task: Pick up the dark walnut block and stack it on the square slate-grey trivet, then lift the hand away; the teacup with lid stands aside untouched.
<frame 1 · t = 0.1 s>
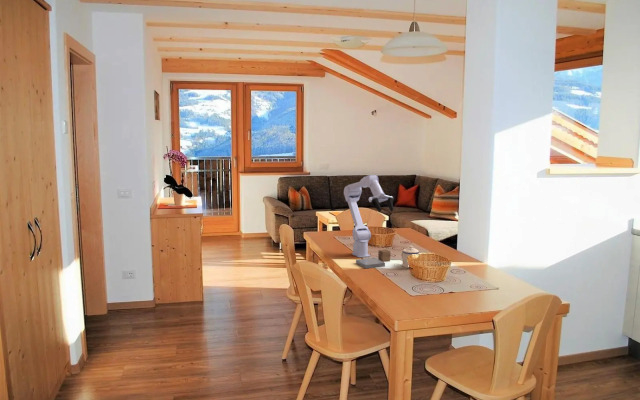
hand: (386, 210, 268), 32 cm above the table, tool tilted 50°, fingers open, 7 cm apart
teacup with lid: (408, 266, 276), on the table
walnut block: (384, 260, 287), on the table
slate trivet: (370, 264, 278), on the table
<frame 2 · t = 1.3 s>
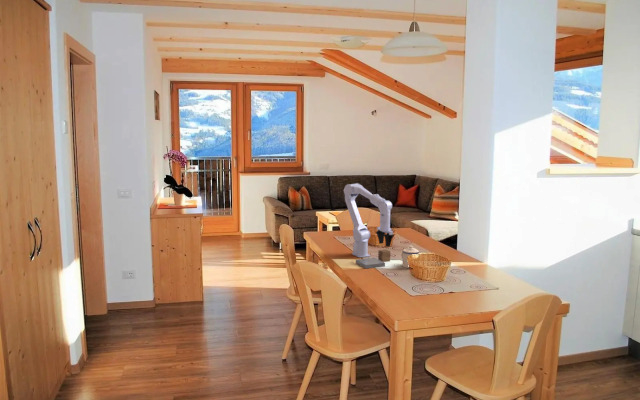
hand: (384, 244, 286), 9 cm above the table, tool pointing down, fingers open, 7 cm apart
nothing on the table moved.
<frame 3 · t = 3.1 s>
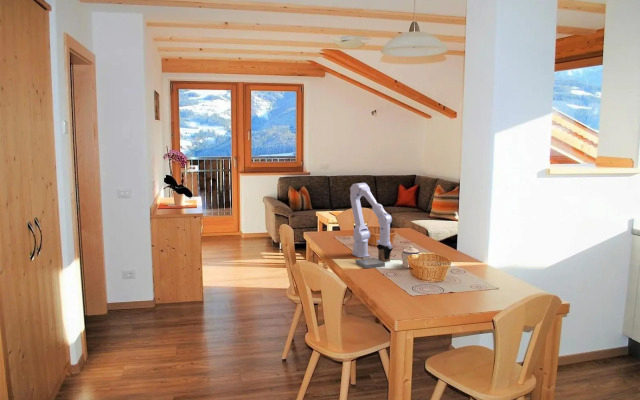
hand: (384, 258, 287), 1 cm above the table, tool pointing down, fingers closed on walnut block, 5 cm apart
walnut block: (384, 260, 287), on the table, touching gripper
everything else where it was.
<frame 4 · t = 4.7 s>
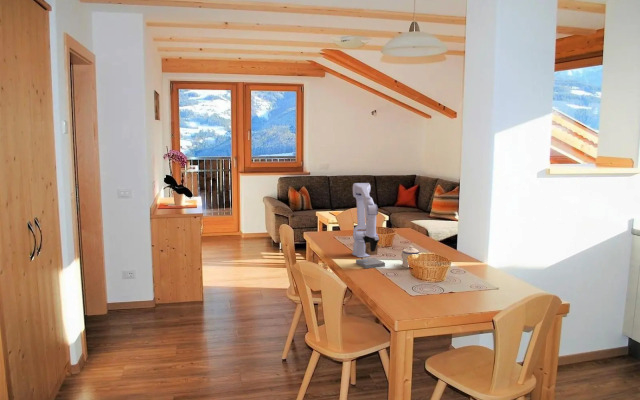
hand: (370, 250, 277), 8 cm above the table, tool pointing down, fingers closed on walnut block, 5 cm apart
walnut block: (371, 253, 277), point 6 cm above the table, touching gripper
everything else where it was.
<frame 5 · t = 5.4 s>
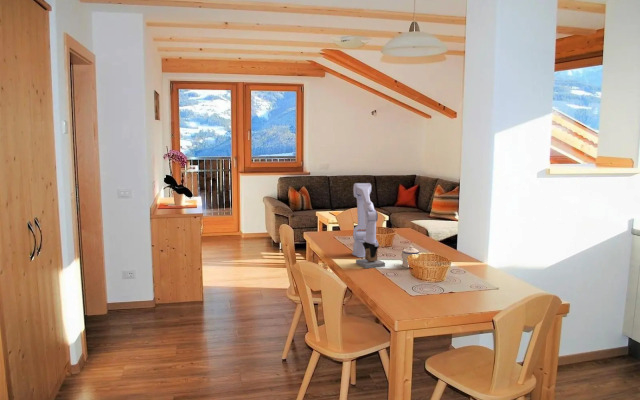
hand: (370, 256, 277), 5 cm above the table, tool pointing down, fingers closed on walnut block, 5 cm apart
walnut block: (371, 259, 278), point 3 cm above the table, touching gripper
everything else where it was.
when the fingers open (5 cm above the table, at t = 6.2 s): walnut block stays where it is, resting on slate trivet.
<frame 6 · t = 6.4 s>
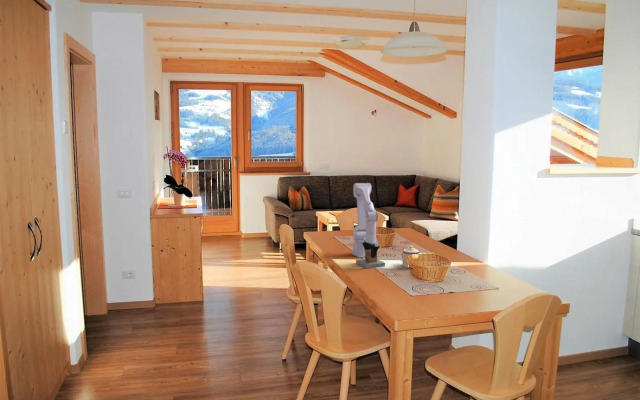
hand: (370, 256, 277), 5 cm above the table, tool pointing down, fingers open, 6 cm apart
walnut block: (371, 261, 278), point 2 cm above the table, touching slate trivet
everything else where it was.
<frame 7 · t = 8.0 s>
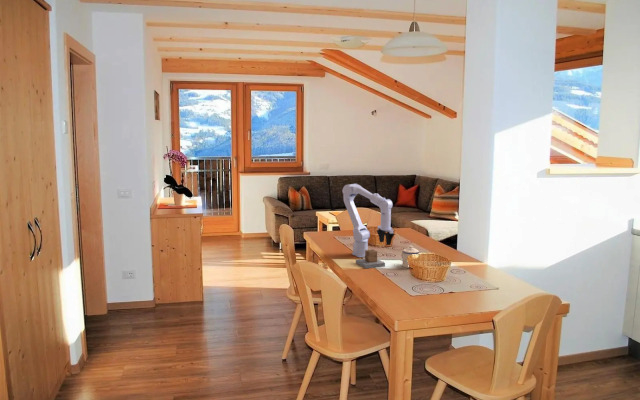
hand: (385, 243, 287), 10 cm above the table, tool pointing down, fingers open, 7 cm apart
nothing on the table moved.
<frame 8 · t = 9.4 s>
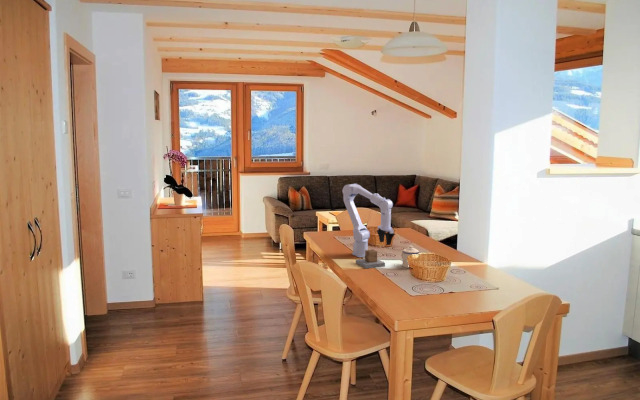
hand: (385, 243, 287), 10 cm above the table, tool pointing down, fingers open, 7 cm apart
nothing on the table moved.
at the end: walnut block inside the target area on the slate trivet (0.5 cm from its centre), point 2.0 cm above the slate trivet's base; walnut block tilted 0°; the gripper is holding nothing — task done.
